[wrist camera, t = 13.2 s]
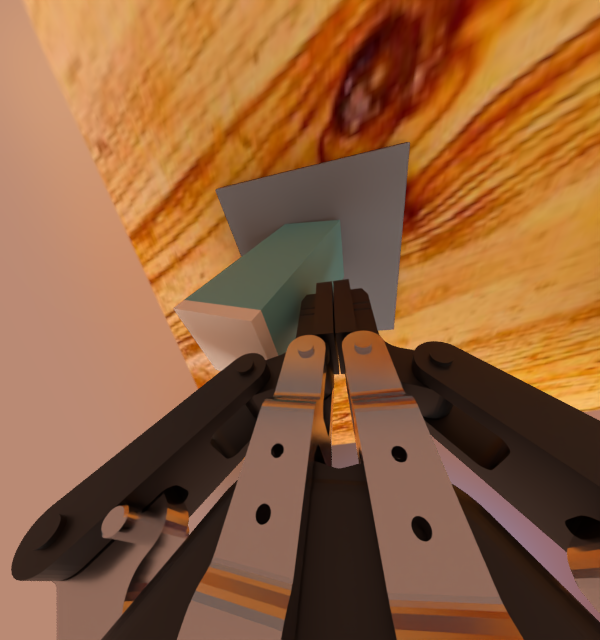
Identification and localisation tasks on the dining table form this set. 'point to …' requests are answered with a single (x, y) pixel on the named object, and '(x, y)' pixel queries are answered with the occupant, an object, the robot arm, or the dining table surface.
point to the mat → (335, 215)
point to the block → (263, 293)
